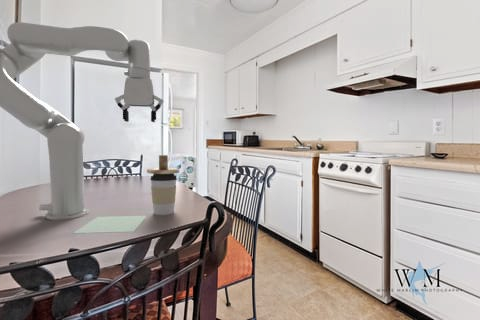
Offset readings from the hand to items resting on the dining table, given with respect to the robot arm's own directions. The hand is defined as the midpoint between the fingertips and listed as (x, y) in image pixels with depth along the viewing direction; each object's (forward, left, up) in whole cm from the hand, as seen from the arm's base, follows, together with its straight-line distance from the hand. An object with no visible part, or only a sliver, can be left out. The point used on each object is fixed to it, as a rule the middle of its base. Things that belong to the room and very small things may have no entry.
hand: (139, 121), depth 98 cm
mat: (-3, -20, -33) cm, 39 cm away
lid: (+10, -8, -18) cm, 22 cm away
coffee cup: (+10, -8, -34) cm, 36 cm away
